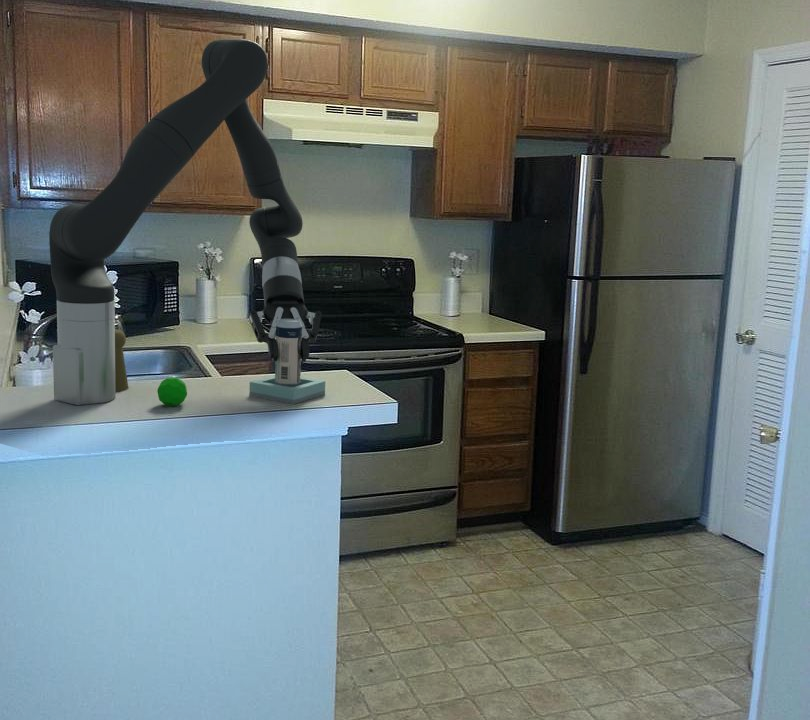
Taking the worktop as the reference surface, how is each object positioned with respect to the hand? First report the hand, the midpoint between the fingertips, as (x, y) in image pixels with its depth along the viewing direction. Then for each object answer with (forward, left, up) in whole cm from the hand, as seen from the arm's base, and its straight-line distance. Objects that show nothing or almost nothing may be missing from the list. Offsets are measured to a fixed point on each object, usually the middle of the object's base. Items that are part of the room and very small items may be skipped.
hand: (290, 358), depth 152 cm
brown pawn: (-16, +29, -8) cm, 34 cm away
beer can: (+1, +1, -5) cm, 6 cm away
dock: (+1, +1, -7) cm, 7 cm away
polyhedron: (-18, +12, -8) cm, 23 cm away
